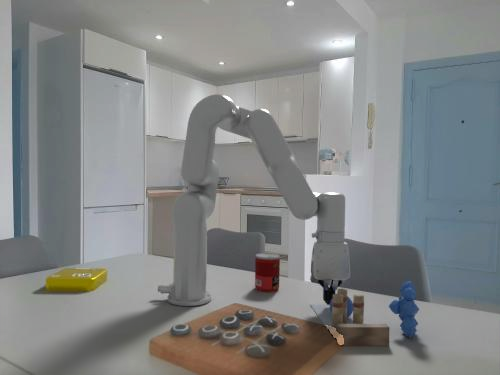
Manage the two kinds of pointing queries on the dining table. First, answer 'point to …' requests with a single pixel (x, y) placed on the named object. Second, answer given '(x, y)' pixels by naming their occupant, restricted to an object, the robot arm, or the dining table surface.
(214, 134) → the robot arm
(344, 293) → the pin front
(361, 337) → the back wall
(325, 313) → the lane mark
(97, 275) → the element tile
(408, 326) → the grapes
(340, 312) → the pin left
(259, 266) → the canned food
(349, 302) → the ball
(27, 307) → the dining table surface
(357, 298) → the pin right
